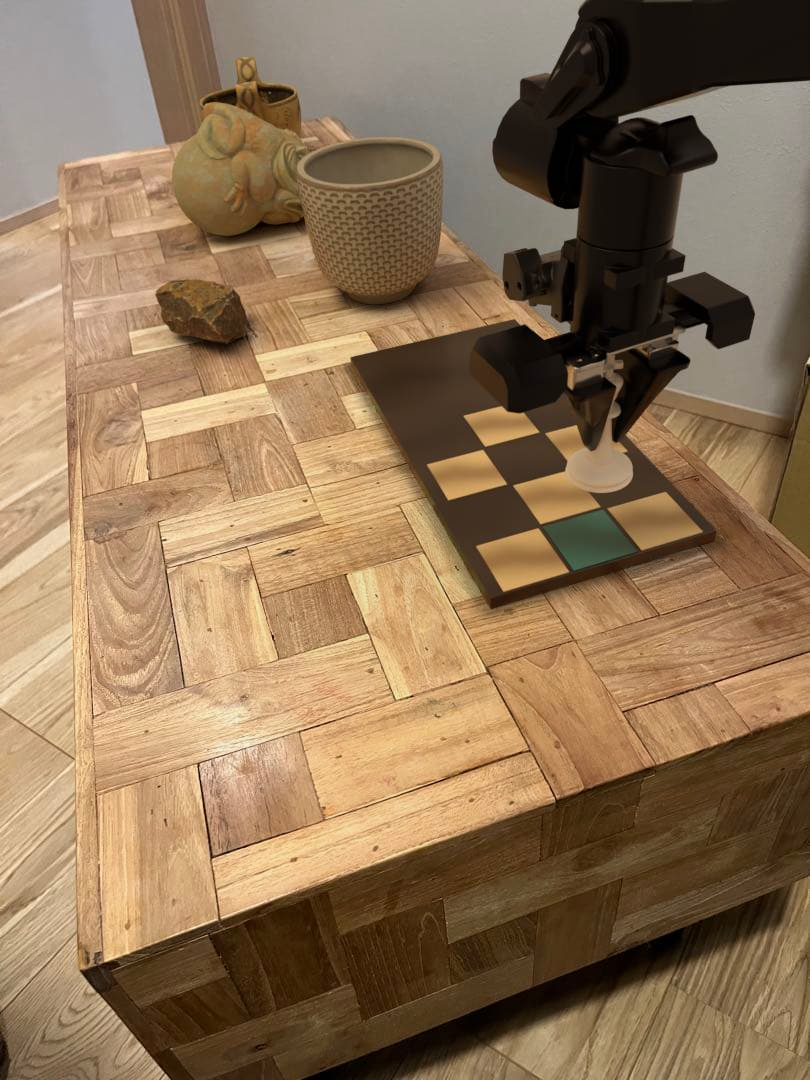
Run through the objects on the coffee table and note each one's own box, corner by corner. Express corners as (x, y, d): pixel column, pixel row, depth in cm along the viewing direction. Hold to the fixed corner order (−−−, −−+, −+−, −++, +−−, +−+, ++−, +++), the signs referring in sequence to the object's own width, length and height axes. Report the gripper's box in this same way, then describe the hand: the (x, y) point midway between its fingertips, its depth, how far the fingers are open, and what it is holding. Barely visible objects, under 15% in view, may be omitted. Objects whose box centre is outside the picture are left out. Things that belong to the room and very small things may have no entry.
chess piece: (638, 491, 60) (656, 370, 53) (570, 495, 60) (579, 375, 53) (626, 451, 63) (641, 333, 57) (561, 454, 64) (568, 337, 57)
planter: (400, 333, 97) (388, 196, 87) (287, 304, 105) (263, 175, 94) (472, 274, 108) (470, 145, 97) (364, 252, 115) (351, 129, 104)
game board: (714, 541, 68) (717, 529, 67) (490, 609, 64) (490, 597, 63) (514, 328, 96) (514, 317, 96) (351, 366, 93) (349, 356, 92)
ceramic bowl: (311, 177, 139) (297, 78, 129) (211, 190, 138) (188, 91, 128) (304, 138, 156) (290, 47, 146) (214, 149, 155) (194, 58, 145)
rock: (175, 372, 94) (260, 353, 96) (160, 322, 90) (250, 303, 92) (163, 323, 104) (241, 306, 106) (150, 275, 100) (231, 259, 102)
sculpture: (244, 274, 115) (351, 184, 117) (142, 146, 107) (258, 51, 109) (227, 278, 131) (321, 199, 133) (137, 167, 123) (239, 84, 125)
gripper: (669, 162, 57) (641, 360, 68) (427, 222, 53) (438, 425, 63) (785, 213, 50) (734, 428, 60) (514, 289, 45) (510, 507, 55)
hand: (601, 443), depth 60 cm, fingers closed on chess piece
